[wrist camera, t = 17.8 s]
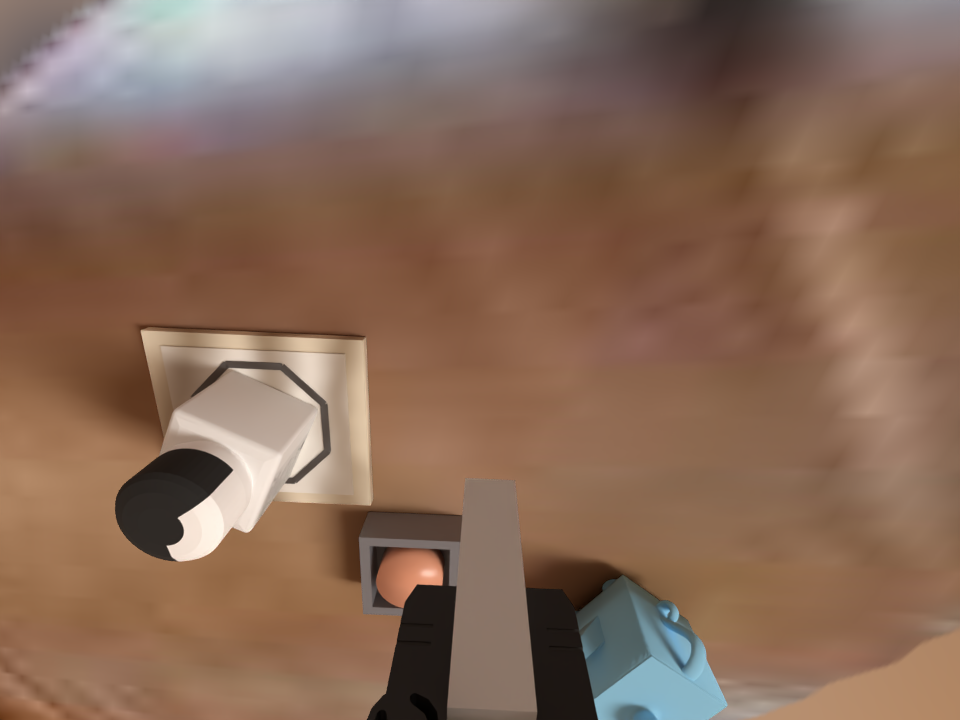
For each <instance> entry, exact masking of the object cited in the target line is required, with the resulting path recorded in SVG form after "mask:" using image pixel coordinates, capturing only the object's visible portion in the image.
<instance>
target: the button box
mask: <svg viewBox="0 0 960 720" xmlns="http://www.w3.org/2000/svg"><path fill="white" fill-rule="evenodd" d="M461 528H462V516H453V515H431V514H409V513H387V512H368V514H367V517H366V520H365V522H364V525H363V528H362V530H361V533H360V535H359V549H360V566H361V584H362V601H363V614H376V615H398V616H402V613H403V608H401V607H397V606H395V605H393V604H391V603H389V602H388V601H386V600H385V599H384V598H383V597H382V596H381V594H380V593H379V591H378V589H377V585H376V578H377V574H378V570H379V567H380V564H381V560H382V557H383V554H384V552H385V550H386V548H387V547H403V548H425V549H439V550H440V552H441V553H442V555H443V558H444V563H445V565H444V574H443V583H442V586H457V578H458V565H459V553H460V540H461Z"/></svg>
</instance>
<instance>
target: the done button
mask: <svg viewBox="0 0 960 720" xmlns="http://www.w3.org/2000/svg"><path fill="white" fill-rule="evenodd" d="M444 565H445V563H444V558H443V555H442V553H441V552H440V550H439V549H425V548H403V547H387V548H386V550H385V552H384V554H383V557H382V560H381V564H380V567H379V570H378V574H377V578H376V585H377V589H378V591H379V593H380V594H381V596H382V597H383V598H384V599H385V600H386V601H388V602H389V603H391V604H393V605H395V606H397V607H401V608H404V603H405V601H406V599H407V598H408V597H409V595H410V594H411V592H412V591H413V589H414V588H415V587H416V585H417V584H420V585H442V583H443V574H444Z"/></svg>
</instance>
